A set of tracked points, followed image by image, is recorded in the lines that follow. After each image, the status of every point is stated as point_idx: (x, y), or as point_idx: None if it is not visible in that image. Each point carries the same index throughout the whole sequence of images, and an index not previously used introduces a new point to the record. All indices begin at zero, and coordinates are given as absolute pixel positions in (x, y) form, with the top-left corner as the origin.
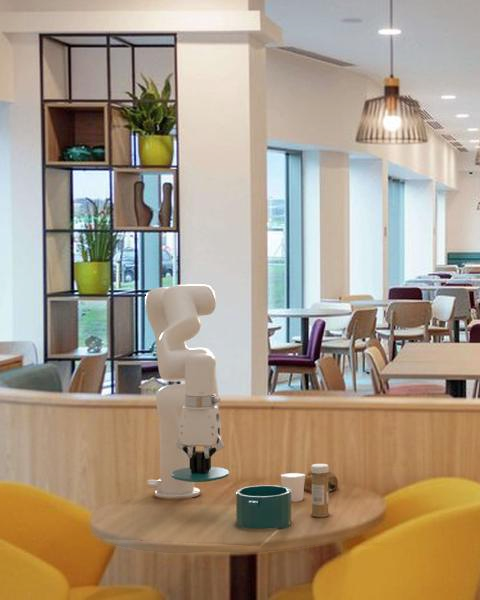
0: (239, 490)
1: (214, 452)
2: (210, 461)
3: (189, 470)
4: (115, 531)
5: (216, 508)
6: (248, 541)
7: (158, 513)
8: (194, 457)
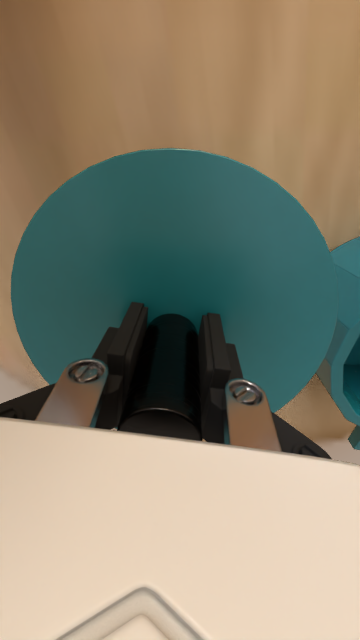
0: (346, 355)
1: (291, 439)
2: (239, 375)
3: (92, 286)
4: (14, 365)
5: (205, 67)
6: (313, 430)
7: (18, 172)
8: (121, 404)
